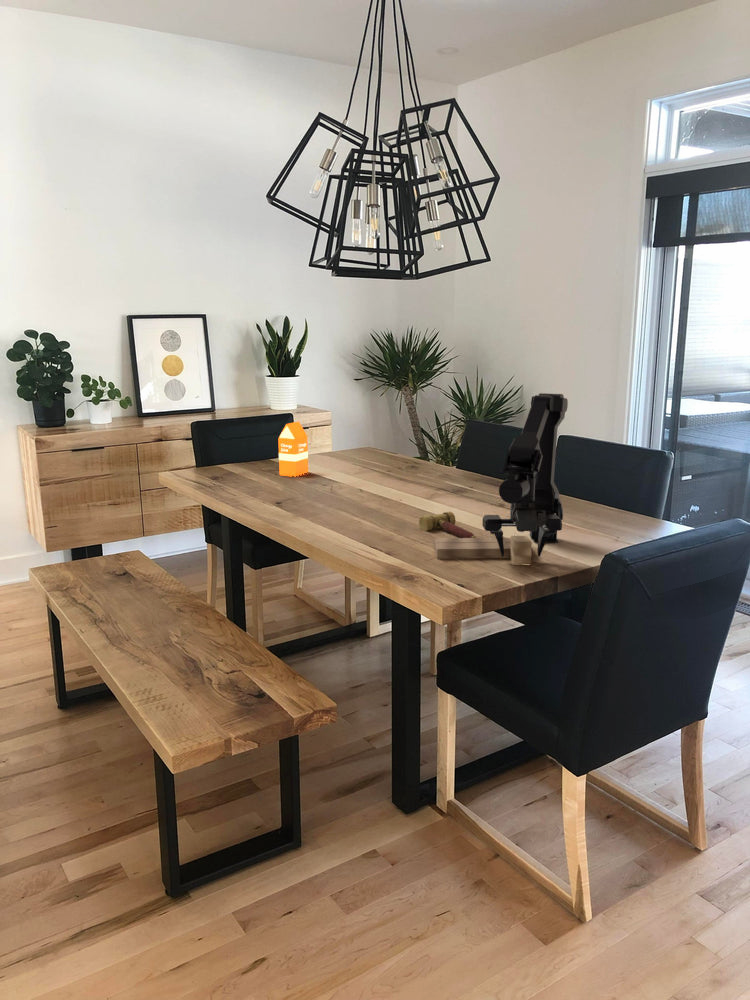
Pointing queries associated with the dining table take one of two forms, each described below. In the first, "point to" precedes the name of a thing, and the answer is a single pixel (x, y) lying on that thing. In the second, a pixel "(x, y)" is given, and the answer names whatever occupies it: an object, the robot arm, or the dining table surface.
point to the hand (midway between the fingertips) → (520, 556)
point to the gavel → (443, 524)
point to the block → (520, 550)
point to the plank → (471, 548)
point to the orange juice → (293, 450)
